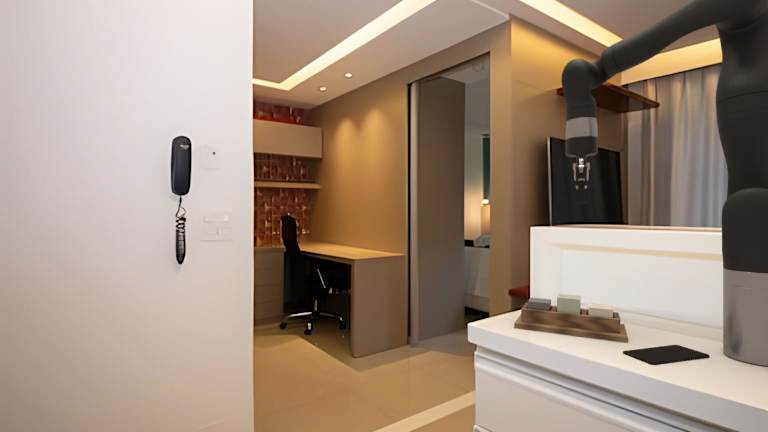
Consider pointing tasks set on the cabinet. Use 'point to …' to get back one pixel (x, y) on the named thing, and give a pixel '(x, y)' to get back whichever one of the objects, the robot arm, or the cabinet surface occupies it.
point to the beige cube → (600, 310)
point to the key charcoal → (539, 304)
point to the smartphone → (665, 354)
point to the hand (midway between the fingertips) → (581, 203)
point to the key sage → (569, 304)
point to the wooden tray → (572, 324)
